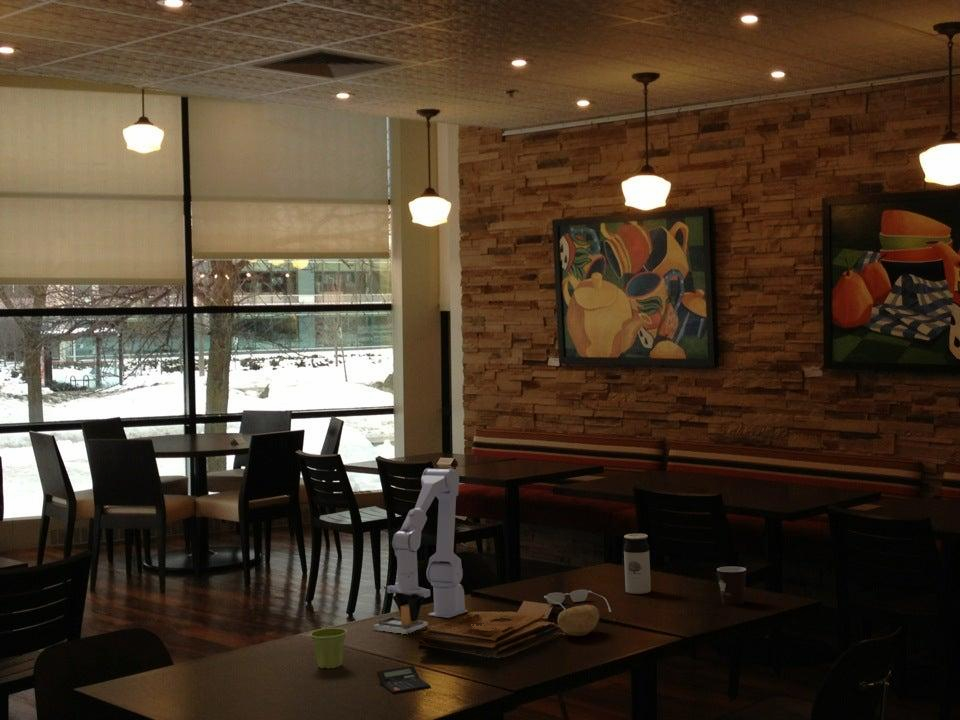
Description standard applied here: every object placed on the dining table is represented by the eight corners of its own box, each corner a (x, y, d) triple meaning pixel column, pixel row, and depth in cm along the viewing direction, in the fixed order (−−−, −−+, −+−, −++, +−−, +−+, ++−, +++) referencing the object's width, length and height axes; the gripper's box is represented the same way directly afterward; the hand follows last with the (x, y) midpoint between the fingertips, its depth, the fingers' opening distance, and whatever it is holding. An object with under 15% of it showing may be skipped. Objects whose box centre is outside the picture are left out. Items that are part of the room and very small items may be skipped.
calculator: (393, 695, 275) (392, 682, 275) (377, 683, 286) (376, 670, 286) (430, 689, 279) (429, 676, 279) (413, 677, 290) (412, 665, 290)
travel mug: (633, 588, 380) (630, 532, 380) (655, 590, 376) (652, 534, 375) (621, 593, 374) (618, 536, 374) (643, 595, 369) (641, 538, 369)
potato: (610, 632, 325) (609, 603, 325) (577, 642, 315) (576, 613, 315) (582, 627, 332) (581, 599, 332) (550, 637, 322) (548, 608, 321)
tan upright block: (410, 622, 340) (409, 602, 339) (418, 623, 338) (417, 603, 338) (401, 625, 336) (400, 605, 336) (409, 626, 335) (408, 606, 334)
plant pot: (318, 673, 296) (317, 638, 296) (306, 664, 304) (305, 631, 304) (353, 667, 300) (352, 633, 300) (340, 659, 309) (339, 626, 309)
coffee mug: (750, 604, 350) (748, 571, 350) (721, 606, 350) (719, 572, 350) (742, 596, 361) (741, 564, 361) (714, 597, 362) (712, 565, 361)
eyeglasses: (590, 601, 366) (589, 588, 366) (614, 613, 349) (614, 599, 349) (544, 606, 361) (543, 594, 361) (566, 619, 344) (565, 605, 344)
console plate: (396, 622, 347) (396, 615, 347) (428, 627, 340) (427, 619, 340) (373, 630, 339) (373, 622, 339) (405, 634, 332) (405, 626, 331)
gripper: (379, 573, 338) (381, 620, 338) (418, 577, 329) (420, 625, 330) (395, 568, 344) (397, 615, 344) (434, 572, 335) (436, 620, 335)
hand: (409, 619), depth 337 cm, fingers closed on tan upright block, 3 cm apart
